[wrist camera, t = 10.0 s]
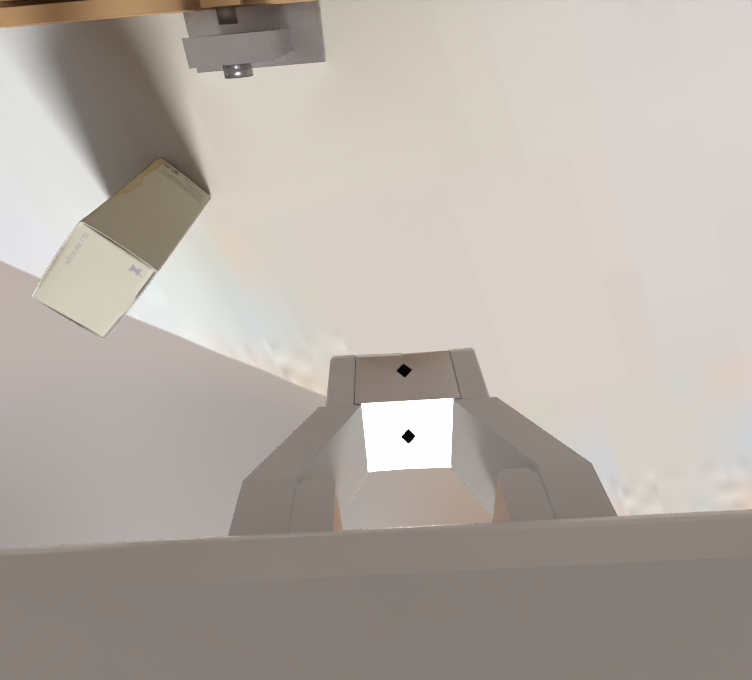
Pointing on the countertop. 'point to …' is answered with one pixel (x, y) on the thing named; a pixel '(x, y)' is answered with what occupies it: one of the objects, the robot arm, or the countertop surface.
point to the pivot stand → (255, 38)
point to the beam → (115, 9)
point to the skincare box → (120, 248)
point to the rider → (11, 0)
